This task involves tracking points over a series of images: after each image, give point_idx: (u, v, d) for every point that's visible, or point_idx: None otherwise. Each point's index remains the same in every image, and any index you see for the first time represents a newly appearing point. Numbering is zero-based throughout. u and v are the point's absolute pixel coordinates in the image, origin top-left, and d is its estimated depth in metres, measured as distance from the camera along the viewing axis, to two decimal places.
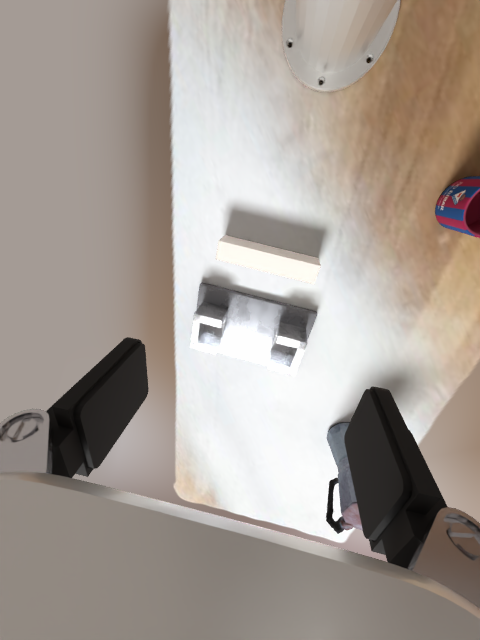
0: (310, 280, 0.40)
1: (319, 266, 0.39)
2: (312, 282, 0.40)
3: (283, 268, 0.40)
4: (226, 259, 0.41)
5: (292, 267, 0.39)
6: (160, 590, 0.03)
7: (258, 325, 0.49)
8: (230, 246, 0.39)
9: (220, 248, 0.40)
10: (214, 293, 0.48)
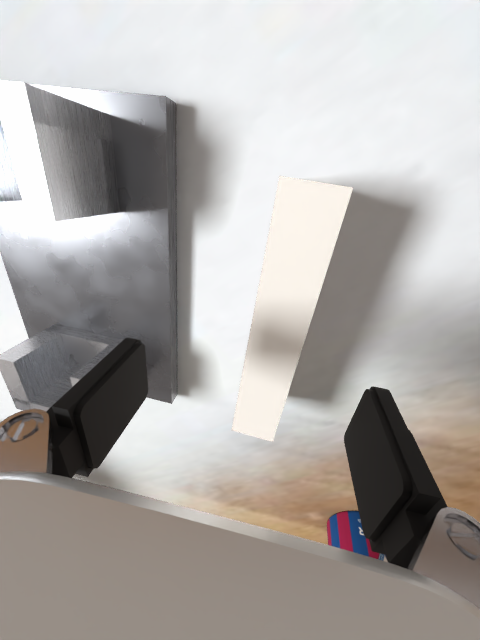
0: (239, 424, 0.18)
1: (271, 439, 0.18)
2: (235, 427, 0.18)
3: (262, 379, 0.16)
4: (280, 221, 0.11)
5: (266, 395, 0.16)
6: (160, 590, 0.03)
7: (105, 296, 0.20)
8: (326, 237, 0.11)
9: (323, 199, 0.11)
10: (150, 161, 0.15)
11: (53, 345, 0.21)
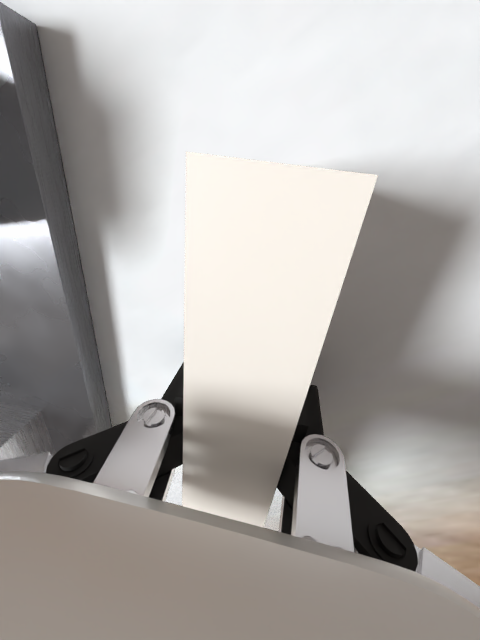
0: None
1: None
2: None
3: (216, 513, 0.09)
4: (206, 261, 0.05)
5: None
6: (160, 590, 0.03)
7: None
8: (312, 295, 0.05)
9: (300, 207, 0.04)
10: None
11: None
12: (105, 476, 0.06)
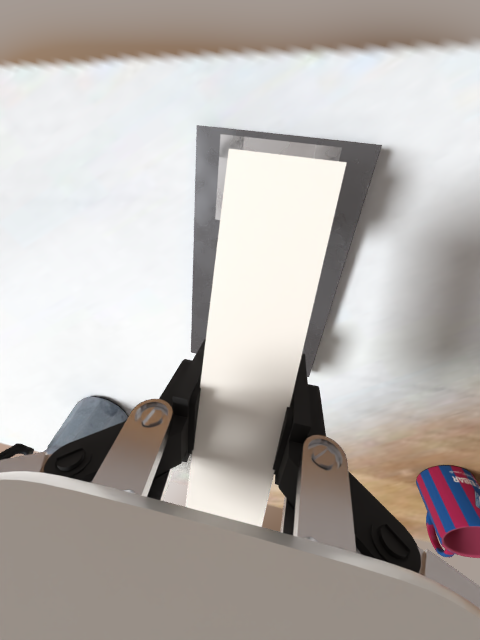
0: None
1: None
2: None
3: (222, 484, 0.09)
4: (235, 221, 0.07)
5: (230, 510, 0.10)
6: (160, 590, 0.03)
7: None
8: (309, 244, 0.07)
9: (300, 182, 0.07)
10: (354, 189, 0.20)
11: None
12: (103, 476, 0.06)
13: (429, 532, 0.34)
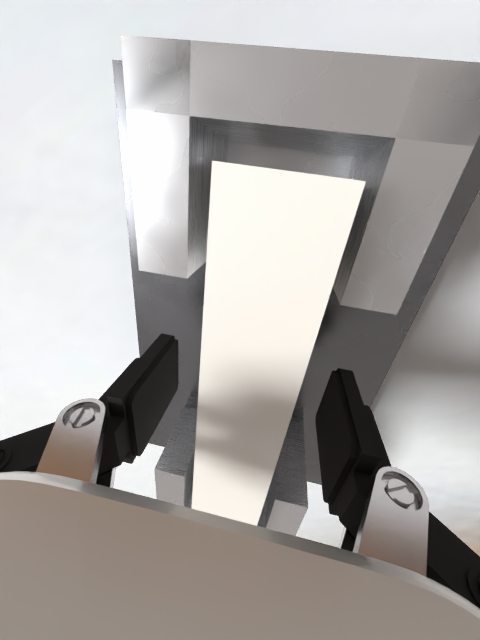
0: None
1: None
2: None
3: (224, 482, 0.10)
4: (225, 250, 0.06)
5: (232, 500, 0.11)
6: (160, 590, 0.03)
7: None
8: (313, 279, 0.06)
9: (303, 206, 0.05)
10: None
11: None
12: None
13: None
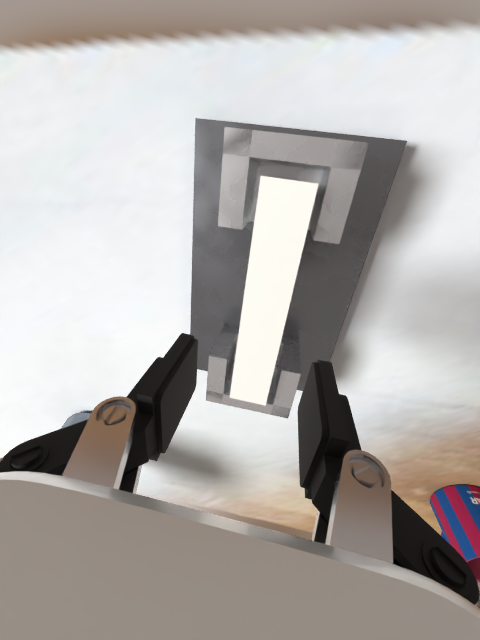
0: (236, 392, 0.21)
1: (264, 403, 0.21)
2: (232, 395, 0.21)
3: (254, 349, 0.18)
4: (263, 212, 0.14)
5: (258, 363, 0.19)
6: (160, 590, 0.03)
7: None
8: (300, 224, 0.14)
9: (295, 193, 0.13)
10: (374, 190, 0.18)
11: (233, 344, 0.24)
12: None
13: None
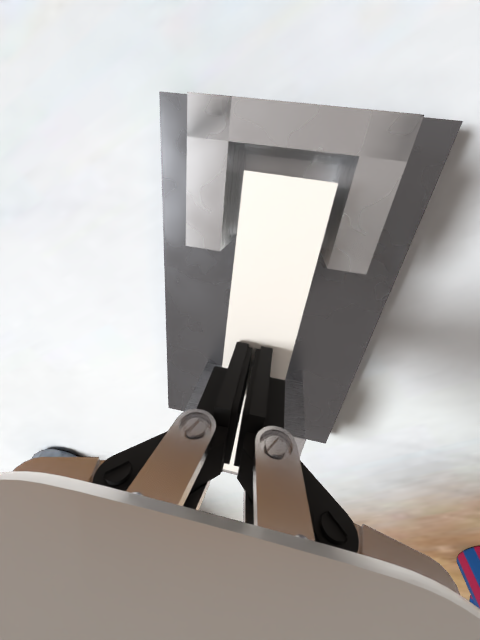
0: None
1: None
2: None
3: (241, 412, 0.13)
4: (249, 228, 0.09)
5: None
6: (160, 590, 0.03)
7: None
8: (307, 247, 0.09)
9: (301, 198, 0.08)
10: (410, 193, 0.13)
11: None
12: (141, 482, 0.06)
13: None
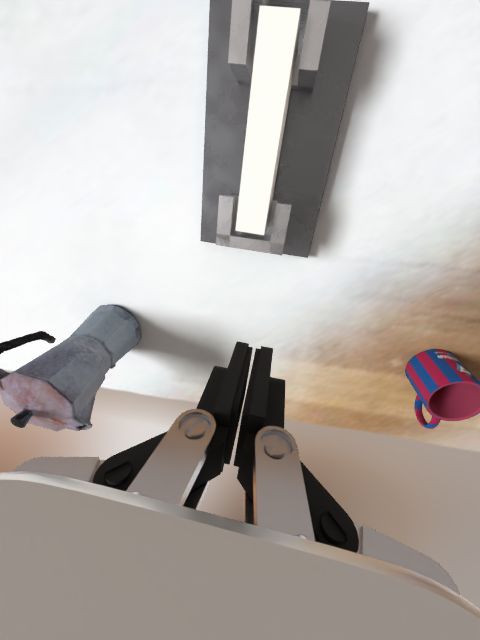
0: (240, 223, 0.26)
1: (263, 233, 0.26)
2: (237, 227, 0.26)
3: (255, 175, 0.24)
4: (261, 38, 0.20)
5: (258, 189, 0.24)
6: (160, 590, 0.03)
7: (280, 163, 0.28)
8: (288, 46, 0.20)
9: (284, 18, 0.19)
10: (346, 49, 0.23)
11: None
12: (141, 482, 0.06)
13: (417, 414, 0.38)
